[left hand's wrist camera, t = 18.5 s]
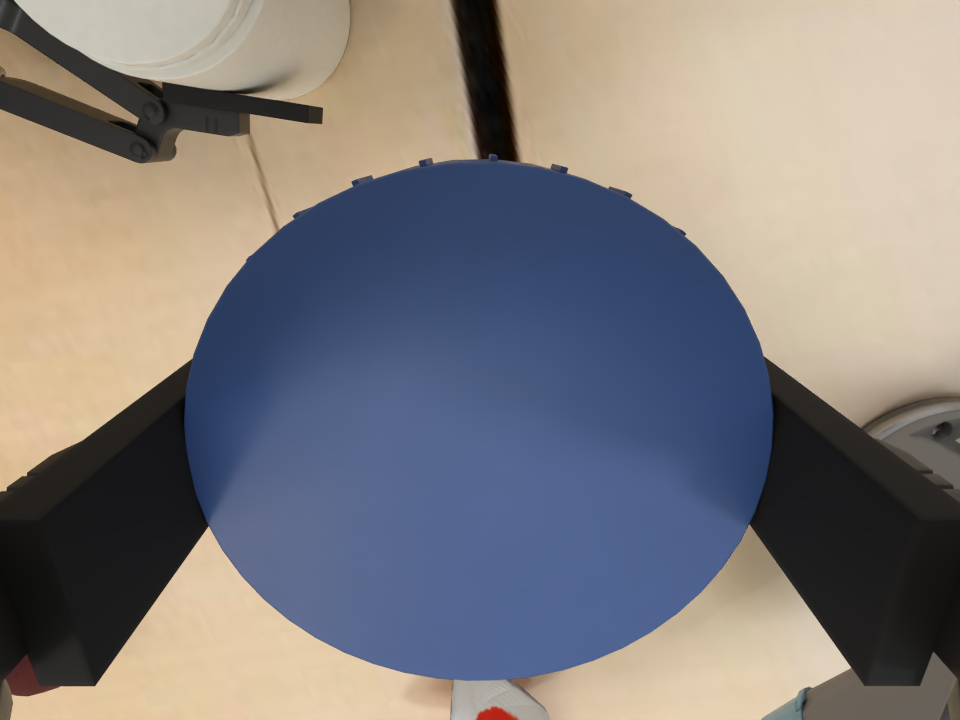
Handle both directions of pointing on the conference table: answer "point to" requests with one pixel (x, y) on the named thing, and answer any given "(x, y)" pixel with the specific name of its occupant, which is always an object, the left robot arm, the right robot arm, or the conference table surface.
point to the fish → (494, 701)
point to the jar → (207, 40)
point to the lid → (478, 420)
